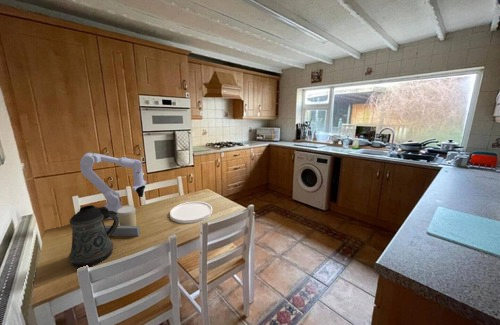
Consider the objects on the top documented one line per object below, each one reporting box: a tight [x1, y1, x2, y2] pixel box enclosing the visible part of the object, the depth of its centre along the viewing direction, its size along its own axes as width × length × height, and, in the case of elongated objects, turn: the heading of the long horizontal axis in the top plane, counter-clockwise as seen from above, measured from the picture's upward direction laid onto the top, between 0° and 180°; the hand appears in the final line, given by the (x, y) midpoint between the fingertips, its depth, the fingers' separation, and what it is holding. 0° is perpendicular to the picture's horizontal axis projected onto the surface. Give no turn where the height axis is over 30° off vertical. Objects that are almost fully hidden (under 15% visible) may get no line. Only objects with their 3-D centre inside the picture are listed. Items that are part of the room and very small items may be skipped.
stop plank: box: [105, 225, 141, 237], centre depth 113 cm, size 20×2×5 cm, turn 90°
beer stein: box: [68, 204, 120, 269], centre depth 95 cm, size 16×19×25 cm
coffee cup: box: [117, 205, 137, 226], centre depth 119 cm, size 9×9×12 cm
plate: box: [169, 200, 213, 224], centre depth 140 cm, size 28×28×2 cm
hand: (140, 196), depth 139 cm, fingers closed
